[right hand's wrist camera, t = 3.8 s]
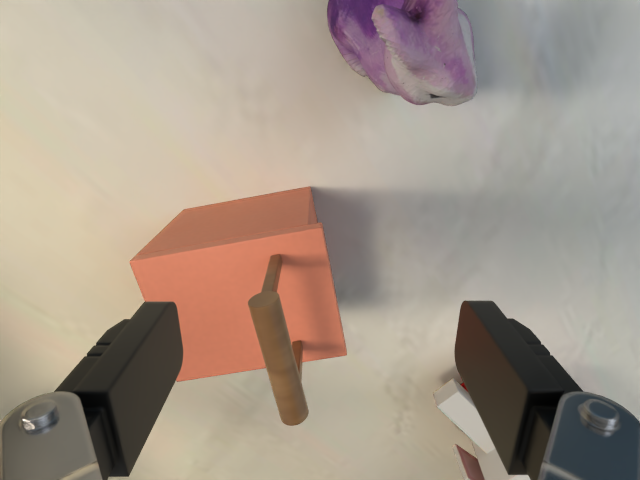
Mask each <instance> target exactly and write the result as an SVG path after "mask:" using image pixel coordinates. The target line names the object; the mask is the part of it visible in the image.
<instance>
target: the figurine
mask: <svg viewBox="0 0 640 480" xmlns="http://www.w3.org/2000/svg"><path fill="white" fill-rule="evenodd" d="M327 18H328V26H329V30H330V32H331V35H332V38H333V40H334V42H335V43H336V45H337V47H338V49H339V51H340V52H341V54H342V56H343V57H344V59H345V60H346V62H347V63H348V64H349V65H350V67H351V68H352V69H353V70H354V71H356V72H357V73H358V74H360V75H362V76H368V77H369V79H370V80H371V81H372V82H373V83H374V84H375V85H376V87H377V88H378V89H380V90H381V91H383V92H386V93H392V94H395V95H400V96H402V97H403V98H404V99H405V100H407V101H408V102H410V103H412V104H415V105H424V104H428V103H432V102H436V103H440V104H443V105H448V106H456V105H459V104H461V103H464V102H467V101H469V100H471V99H472V98H473V97H474V96H475V94H476V92H477V73H476V67H475V56H474V41H473V32H472V27H471V23H470V21H469V19H468V17H467V15H466V14H465V13H464V12H463V11H462V10H460V9H459V8H458V3H457V0H329V2H328V8H327Z"/></svg>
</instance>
